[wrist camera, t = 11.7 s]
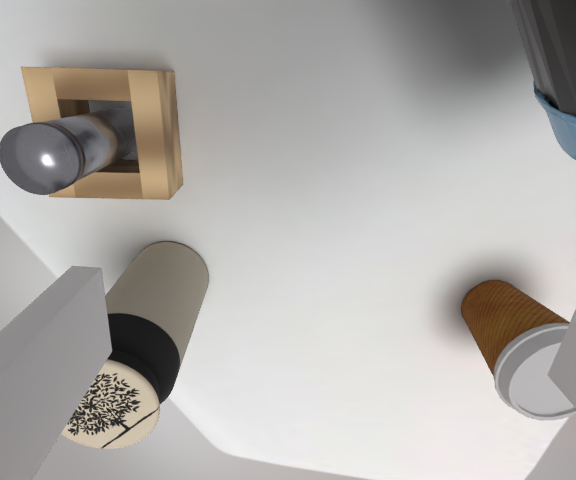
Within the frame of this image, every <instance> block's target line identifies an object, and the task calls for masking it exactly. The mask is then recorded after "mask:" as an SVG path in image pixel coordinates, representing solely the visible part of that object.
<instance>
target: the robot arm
mask: <svg viewBox="0 0 576 480" xmlns="http://www.w3.org/2000/svg"><path fill="white" fill-rule="evenodd" d="M510 1H511V4H512V8H513V11H514V14H515V17H516V20H517V23H518V26H519V30H520V33H521V37H522V40H523V43H524V47H525V50H526V54H527V57H528V60H529V64H530V67H531V71H532V74H533V78H534V82H533V83H534V92H535V96H536V98H537V100H538V102H539V103H540V104H541V106H542V107H543V108H544V109H545V110H546V113H547V115H548V118H549V121H550V123H551V126H552V129H553V131H554V134H555V137H556V139H557V141H558V143H559V144H560V146H561V147H562V149H563V150H564V151H565V152H566V153H567V154H568V155H569V156H571V157H572V158H573V159H575V160H576V0H510ZM111 352H112V346H111V338H110V331H109V323H108V315H107V308H106V300H105V292H104V285H103V277H102V269H101V268H95V267H79V266H72V267H71V268H69V269H68V270H67V271H66V272H65V273H64V274H63V275H62V276H61V277H60V278H58V279H57V280H56V281H55V282H54V283H53V284H52V285H51V286H50V287H49V288H47V289H46V290H45V291H44V292H43V293H42V294H41V295H40V296H39V297H38V298H36V299H35V300H34V301H33V302H32V303H31V304H30V305H29V306H28V307H27V308H25V309H24V310H23V311H22V312H21V313H20V314H19V315H18V316H17V317H15V318H14V319H13V320H12V321H11V322H10V323H9V324H8V325H7V326H6V327H4V328H3V329H2V330H1V331H0V480H32V479H33V478H34V476H35V474H36V473H37V471H38V470H39V468H40V466H41V465H42V463H43V461H44V460H45V458H46V457H47V455H48V453H49V452H50V450H51V449H52V447H53V445H54V444H55V442H56V441H57V439H58V437H59V436H60V434H61V433H62V431H63V429H64V428H65V426H66V425H67V423H68V421H69V420H70V418H71V417H72V415H73V413H74V412H75V410H76V408H77V407H78V405H79V404H80V402H81V400H82V399H83V397H84V396H85V394H86V392H87V391H88V389H89V388H90V386H91V384H92V383H93V381H94V380H95V378H96V376H97V375H98V373H99V372H100V370H101V368H102V367H103V365H104V363H105V362H106V360H107V359H108V357H109V355H110V354H111ZM548 377H549V378H550V379H551V380H552V381H553V382H554V384H555V385H556V386H557V387H558V388H559V389H560V391H561V392H562V393H563V394H564V395H565V396H566V398H567V399H568V400H569V401H570V402H571V403H572V404H573V406H574V407H575V408H576V310H575V312H574V315H573V317H572V319H571V321H570V324H569V326H568V328H567V331H566V333H565V335H564V338H563V340H562V342H561V345H560V347H559V349H558V351H557V354H556V356H555V358H554V361H553V363H552V365H551V368H550V370H549V372H548Z"/></svg>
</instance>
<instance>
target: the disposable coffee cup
mask: <svg viewBox="0 0 576 480" xmlns="http://www.w3.org/2000/svg"><path fill="white" fill-rule="evenodd" d="M461 310H462V315H463V318H464V320H465V322H466V323H467V325H468V327H469V329H470V331H471V333H472V335H473V337H474V339H475V341H476V343H477V345H478V347H479V349H480V351H481V353H482V355H483V357H484V359H485V361H486V363H487V365H488V367H489V369H490V371H491V373H492V374H493V376H494V380H495V388H496V391H497V392H498V394H499V396H500V398H501V399H502V400H503V401H504V402H505V403H506V404H507V405H508V406H510V407H512V408H513V409H516V410H517V411H518V412H519V413H521V414H523V415H525V416H526V417H528V418H532V419H537V420H557V419H563V418H566V417H569V416H571V415H574V414H576V408H575V407H574V406H573V404H572V403H571V402H570V401H569V400H568V399H567V398H566V396H565V395H564V394H563V393H562V392H561V391H560V389H559V388H558V387H557V386H556V385H555V384H554V382H553V381H552V380H551V379H550V378H549V377H548V372H549V370H550V368H551V365H552V363H553V361H554V358H555V356H556V354H557V351H558V349H559V347H560V345H561V342H562V340H563V338H564V335H565V333H566V331H567V328H568V326H569V324H570V322H568V321H567V320H565V319H564V318H562V317H560V316H559V315H557V314H555V313H554V312H553V311H551V310H550V309H548V308H546V307H545V306H543V305H542V304H540V303H539V302H537V301H536V300H534V299H532V298H531V297H529V296H528V295H526V294H524V293H523V292H521V291H520V290H518V289H517V288H515V287H514V286H512V285H511V284H509V283H507V282H505V281H500V280H491V281H487V282H483V283H481V284H479V285H477V286H476V287H474V288H473V289H472V290H471V291H470V292H469V293H468V294H467V295H466V297H465V298H464V300H463V303H462V307H461Z"/></svg>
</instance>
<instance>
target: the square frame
mask: <svg viewBox="0 0 576 480" xmlns="http://www.w3.org/2000/svg"><path fill="white" fill-rule="evenodd" d="M21 70H22V75H23V80H24V84H25V89H26V93H27V98H28V102H29V107H30V112H31V116H32V121H33V123H35V122H42V121H50V120H55V119H60V118H66V117H71V116H76V115H81V114H86V113H90V111H89V105H88V100H109V101H131V103H132V111H133V119H134V128H135V136H136V144H137V152H138V161H136V160H117V161H115V162H113V163H111V164H109V165H107V166H105V167H103V168H102V169H100V170H98V171H96V172H94V173H92V174H90V175H88V176H86V177H84V178H82V179H80V180H78V181H77V182H76V183H74V184H73V185H71V186H69V187H67V188H65V189H62V190H59V191H57V192H55V193H52V194H49V197H68V198H116V199H164V200H170V198H171V197H172V196H173V195H174V194H175V193H176V192H177V191H178V190H179V188H180V187H181V186H182V185H183V177H182V164H181V152H180V139H179V127H178V114H177V101H176V89H175V76H174V71H152V70H118V69H85V68H52V67H21Z"/></svg>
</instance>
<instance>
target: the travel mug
mask: <svg viewBox="0 0 576 480" xmlns="http://www.w3.org/2000/svg"><path fill="white" fill-rule="evenodd" d="M208 283H209V275H208V270H207V268H206V265H205V263H204V262H203V260H202V259H201V258H200V256H199V255H198V254H197V253H195V252H194V251H193V250H191V249H190V248H188V247H186V246H184V245H181V244H178V243H173V242H160V243H155V244H152V245H150V246H148V247H146V248H145V249H143V250H142V251H141V252H140V253H139V254H138V255H137V257H136V258H135V259H134V261H133V262H132V263H131V264H130V266H129V267H128V268H127V269H126V271H125V272H124V273H123V274H122V276H121V277H120V278H119V279H118V281H117V282H116V283H115V284H114V286H113V287H112V288H111V290H110V291H109V292H108V293H107V295H106V296H105V300H106V308H107V315H108V323H109V331H110V338H111V346H112V352H111V354H110V355H109V357H108V359H107V360H106V362H105V363H104V365H103V367H102V368H101V370H100V372H99V373H98V375H97V376H96V378H95V380H94V381H93V383H92V384H91V386H90V388H89V389H88V391H87V392H86V394H85V396H84V397H83V399H82V400H81V402H80V404H79V405H78V407H77V408H76V410H75V412H74V413H73V415H72V417H71V418H70V420H69V421H68V423H67V425H66V426H65V428H64V429H63V431H62V433H61V434H62V435H64V436H65V437H67V438H69V439H70V440H72V441H75V442H77V443H79V444H82V445H86V446H89V447H94V448H103V449H115V448H121V447H126V446H130V445H132V444H135V443H137V442H139V441H141V440H142V439H144V438H145V437H146V436H147V435H149V434H150V433H151V431H152V430H153V429H154V427H155V426H156V424H157V422H158V419H159V414H160V404H161V403H162V402H163V401H165V399H166V398H167V397H168V396H169V395H170V393H171V391H172V389H173V387H174V384H175V381H176V378H177V375H178V372H179V369H180V366H181V363H182V360H183V357H184V355H185V352H186V349H187V346H188V343H189V340H190V337H191V334H192V331H193V328H194V325H195V322H196V320H197V317H198V314H199V311H200V308H201V305H202V302H203V299H204V296H205V293H206V290H207V288H208Z"/></svg>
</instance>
